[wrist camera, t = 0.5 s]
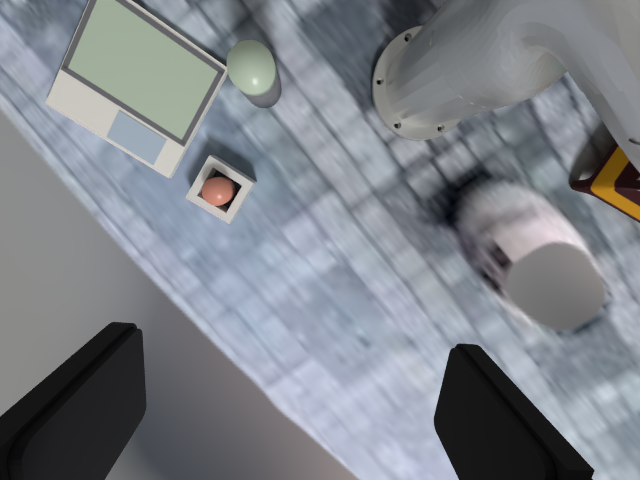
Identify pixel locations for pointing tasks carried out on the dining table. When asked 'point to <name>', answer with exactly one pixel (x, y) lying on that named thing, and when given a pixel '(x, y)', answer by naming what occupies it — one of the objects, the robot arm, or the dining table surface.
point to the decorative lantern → (614, 183)
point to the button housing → (233, 173)
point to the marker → (254, 73)
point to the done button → (218, 190)
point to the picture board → (136, 83)
